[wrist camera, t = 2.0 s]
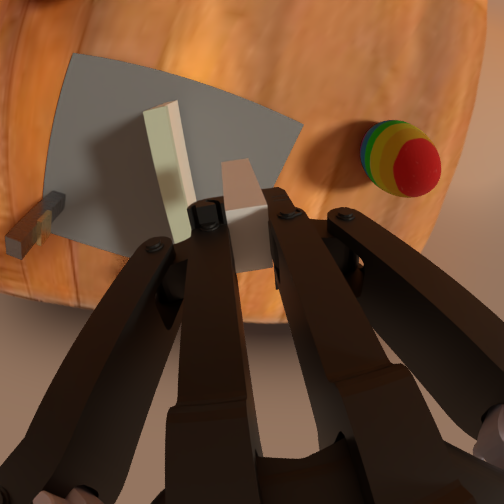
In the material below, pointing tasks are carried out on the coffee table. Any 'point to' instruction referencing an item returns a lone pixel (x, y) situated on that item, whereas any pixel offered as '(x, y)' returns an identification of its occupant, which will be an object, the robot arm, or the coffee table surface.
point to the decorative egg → (400, 159)
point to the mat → (147, 148)
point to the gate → (171, 165)
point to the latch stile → (35, 225)
